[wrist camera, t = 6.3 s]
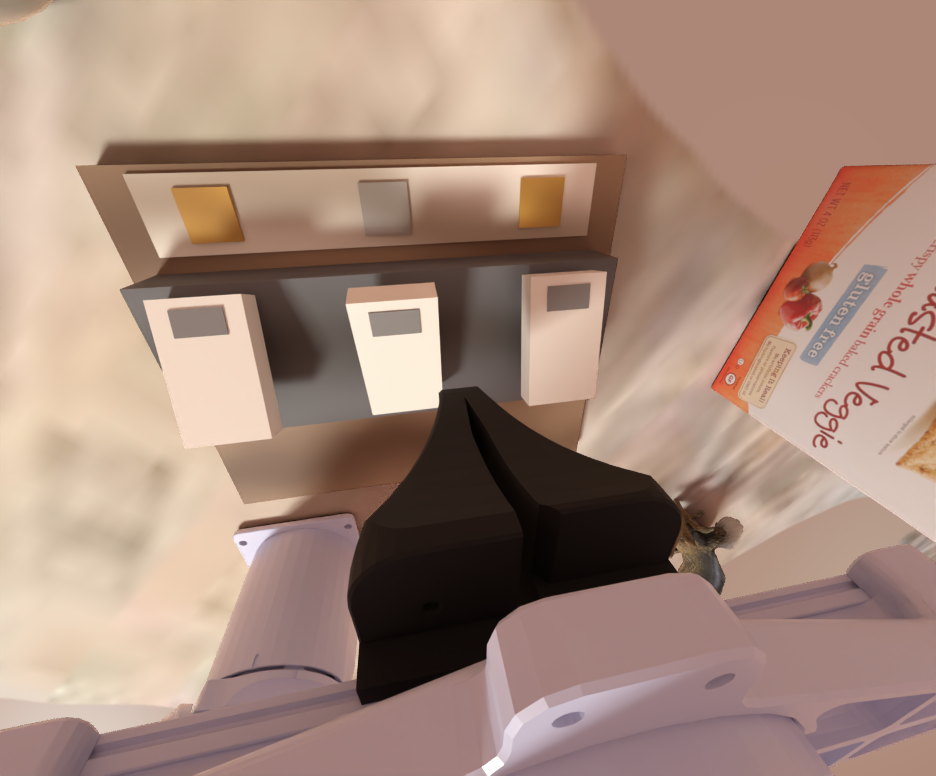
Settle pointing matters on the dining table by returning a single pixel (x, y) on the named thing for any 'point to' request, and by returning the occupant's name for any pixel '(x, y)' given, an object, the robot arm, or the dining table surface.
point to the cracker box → (854, 340)
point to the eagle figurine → (705, 546)
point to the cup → (20, 10)
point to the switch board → (362, 283)
